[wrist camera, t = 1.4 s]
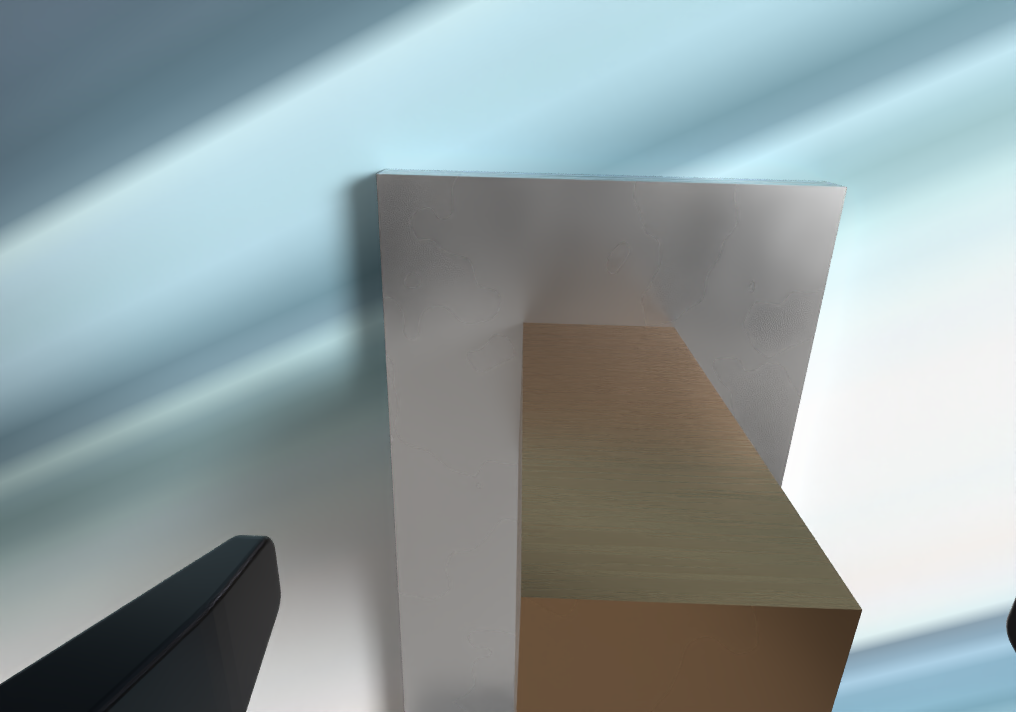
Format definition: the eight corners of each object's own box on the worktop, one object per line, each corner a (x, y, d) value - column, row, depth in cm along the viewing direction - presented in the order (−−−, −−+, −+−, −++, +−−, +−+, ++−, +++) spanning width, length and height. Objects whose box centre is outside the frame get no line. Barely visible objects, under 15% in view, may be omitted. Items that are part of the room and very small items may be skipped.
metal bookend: (387, 168, 12) (149, 283, 4) (821, 179, 12) (1350, 319, 4) (415, 759, 18) (335, 1233, 10) (700, 771, 18) (829, 1260, 10)
